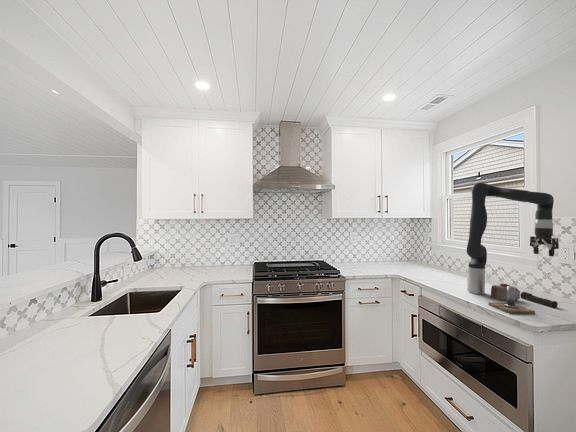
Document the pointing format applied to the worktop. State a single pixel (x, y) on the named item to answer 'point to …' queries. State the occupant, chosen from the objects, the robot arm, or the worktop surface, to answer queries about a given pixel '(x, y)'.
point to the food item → (502, 292)
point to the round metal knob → (510, 297)
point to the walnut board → (511, 310)
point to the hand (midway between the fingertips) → (543, 255)
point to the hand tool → (538, 299)
